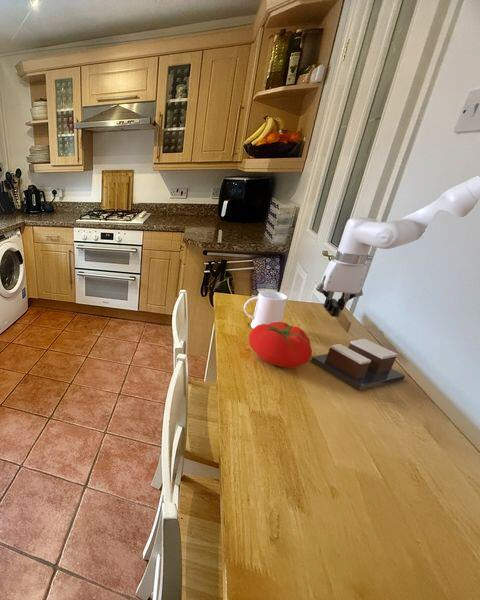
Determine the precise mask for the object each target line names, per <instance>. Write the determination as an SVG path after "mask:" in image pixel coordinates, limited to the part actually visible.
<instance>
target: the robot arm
mask: <svg viewBox="0 0 480 600" xmlns="http://www.w3.org/2000/svg"><path fill="white" fill-rule="evenodd" d="M475 176H476V177H475ZM475 176H472V177H471V178H468V179H466V180H465V181H463V182H461V183H459V184H457V185H454V186H451V188H449V189H447V190H445V191H444V192H443V193H442V194H441V195H440V196H439V197H438V198H437V199H435V200H434V201H432V202H431V203H429V204H427V205H425V206H424V207H422V208H420V209H417V210H415V211H413V212H412V213H410V214H407V215H406V216H403V217H401V218H399V219H395V220H391V221H378V219H375V218H372V217H362V216H361V217H360V216H359V217H358V216H357V217H350V218H349V219H348V220H347V221H346V223H345V226H344V230H343V233H342V235H341V238H340V242H339V245H338V247H337V251H336V254H335V257H334V258H332V259H330V260H329V262H328V265H327V266H326V268H325V270H324V273H323V275H322V277H321V280H320V283H319V284H318V285H317V286H316V287H315V291H317V292H318V293H320V294H322V295H323V296H324V297H325V300H324V302H323V308H324V307H325V308H324V310H325V311H326V312H328V311H330V308H331V305H332V303H333V300H332V299H333V297H334V295H335V293H341V296H340V297H339V298H338V299H337V302H338V303H339V304H340V305H341V306H342V307H343V309H342V311H344V308H345V306H346V303H348V302H349V301H350V300H352V299H354V298H358V297H361V296H363V295H364V292H363V286H364V282H365V279H366V273H367V267H368V266H367V261H372V260H373V255H370V250H371V247H374V248H378V249H382V250H390V249H395V248H397V247H400V246H404V245H407V244H411V243H413V242H415V241H417V240H420V239H421V238H420V237H421V236H422V234H423V233H424V232H425V229H426V228H427V226H428V224H429V223H430V220H431V219H432V218H433V216H434V214H435V213H436V212H437V211H438V210H445V211H448V212H450V213H451V214H453V215H454V216H456V217H464V216H466V215H467V214H468V213H469V212H470V211H471V210H472V209H473V208H474V206H475V205H476V204H477V202H478V200H479V199H480V177H479V176H477V175H475ZM419 238H420V239H419Z"/></svg>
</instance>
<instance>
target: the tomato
mask: <svg viewBox="0 0 480 600" xmlns="http://www.w3.org/2000/svg"><path fill="white" fill-rule="evenodd" d="M248 343H249V346H250V348H251V350H253V352H255V353H256V355H257V357H259V358H260V359H261V360H262V361H264V362H265V363H267V364H270V365H272V366H277V367H283V368H287V369H290V368H298V367H299V368H300V367H302V366H303V365H305V364H307V363H308V362H309V361H310V359H311V358H312V354H313V350H312V349H313V348H312V346H311V340H310V338H309V336H308V335H307V334H306V333H305V331H304V330H303V329H301V328H300V327H299V326H295V325H290V324H288V323H287V322H282V321H281V322H272V323H270V324H261V325H258V326H256V327H255V328H254V329H253V328H252V329H251V330H250V332H249V334H248Z"/></svg>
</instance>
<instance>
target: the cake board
mask: <svg viewBox="0 0 480 600" xmlns="http://www.w3.org/2000/svg"><path fill="white" fill-rule="evenodd" d="M327 355H328V353H326V354H319V355H313V356H311V358H310V359H311V360H310V362H311V363H313V364H314V365H317V366H318V367H320V368H321V369H323V370H324V371H326V372H327V373H329V374H331V375H332V376H334V377H335V378H338V379H339V380H340V381H342V382H343V383H345V384H348V385H349V386H350V387H352V388H354V389H355V390H357V391H364V390H368V389H373V388H376V387H380V386H384V385H389V384H393V383H394V384H395V383H398V382H403V381H404V380H405V379H406V375H405V374H403V373H402V372H399V371H398V370H396V369H393V367H392V368H391V370H390V371H386V372H382V373H377V374H375V373H374V372H372V371H370V370H368V369H367V372H366V374H365V376H364V377H363V378H358V379H354V378H352V377H351V376H349V375H347V374H345V373H344V372H342V371H340V370H339V369H337V368H335V367H334V366H332V365H330V364H329V363H327V362H325V360H326V358H327Z"/></svg>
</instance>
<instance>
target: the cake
mask: <svg viewBox="0 0 480 600" xmlns="http://www.w3.org/2000/svg"><path fill="white" fill-rule="evenodd" d="M347 348H349V349H350V350H352V351H354V352H356V353H358V354H360V355H362V356H364V357H366V358H368V359H370V360H371V362H370V365H369V367H368V370H370V371H372V372H374V373H375V374H377V373H382V372H386V371H390V370H391V368H392V369H393V366H394V364H395V361H396V359H397V356H398V355H399V354H398V353H397V352H394V351H393V350H390V349H388V348H386V347H384V346H382V345H379V344H377V343H375V342H373V341H371V340H369V339H367V338H360V339H355V340H350V342H349V345H348V347H347Z"/></svg>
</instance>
